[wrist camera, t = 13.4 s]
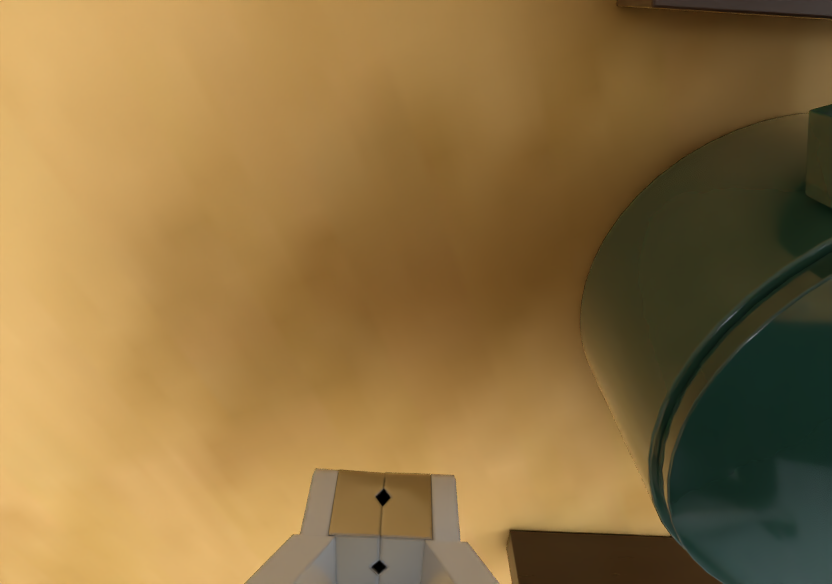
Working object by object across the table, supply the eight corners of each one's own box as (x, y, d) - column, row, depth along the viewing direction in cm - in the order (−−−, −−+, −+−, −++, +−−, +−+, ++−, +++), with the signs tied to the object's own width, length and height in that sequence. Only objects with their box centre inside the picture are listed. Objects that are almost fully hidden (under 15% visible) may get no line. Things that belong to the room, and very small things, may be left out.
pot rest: (626, -49, 14) (665, -57, 11) (1293, -5, 14) (1455, -5, 12) (505, 548, 24) (514, 603, 22) (888, 564, 25) (935, 619, 22)
